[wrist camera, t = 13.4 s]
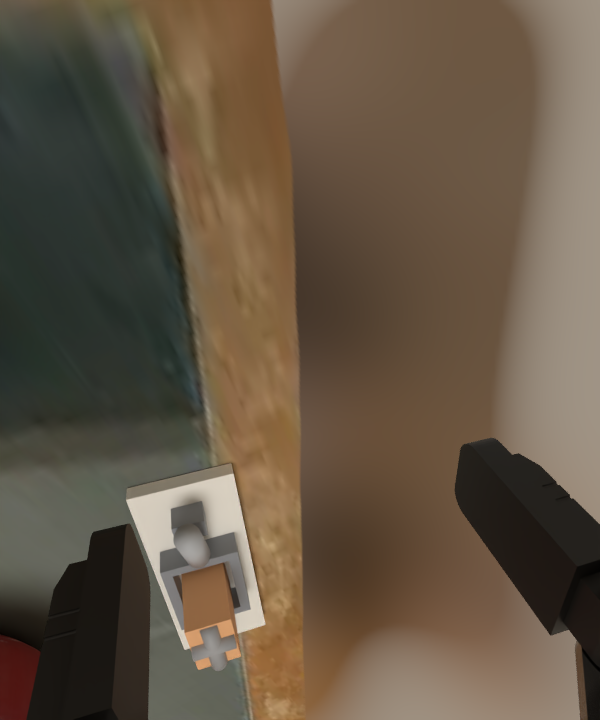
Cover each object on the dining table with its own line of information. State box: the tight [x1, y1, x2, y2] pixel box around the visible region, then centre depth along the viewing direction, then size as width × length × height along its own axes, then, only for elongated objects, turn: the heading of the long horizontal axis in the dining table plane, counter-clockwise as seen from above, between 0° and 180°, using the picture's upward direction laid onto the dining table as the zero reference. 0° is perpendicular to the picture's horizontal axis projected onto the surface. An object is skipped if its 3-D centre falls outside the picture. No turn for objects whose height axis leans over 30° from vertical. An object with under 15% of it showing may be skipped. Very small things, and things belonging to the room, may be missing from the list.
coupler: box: [181, 562, 241, 671], centre depth 47 cm, size 6×4×9 cm, turn 5°
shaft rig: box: [126, 463, 265, 650], centre depth 49 cm, size 10×26×7 cm, turn 5°
